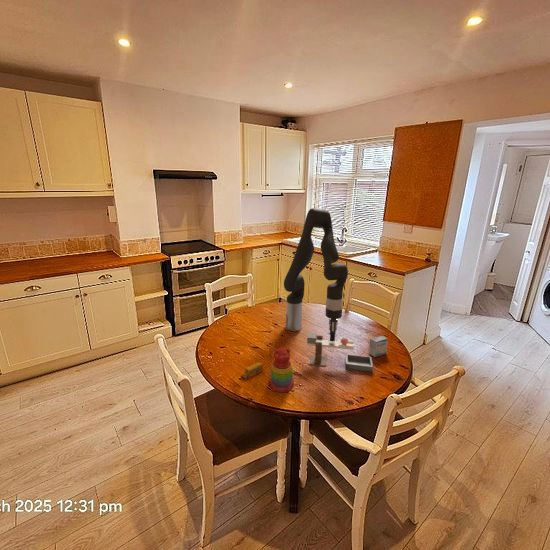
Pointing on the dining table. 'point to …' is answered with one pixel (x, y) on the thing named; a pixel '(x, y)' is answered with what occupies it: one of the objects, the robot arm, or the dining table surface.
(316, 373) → the dining table surface
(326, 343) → the tilt lever
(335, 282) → the robot arm
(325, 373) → the dining table surface
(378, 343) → the medicine box
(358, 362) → the tray
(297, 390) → the dining table surface
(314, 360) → the fulcrum
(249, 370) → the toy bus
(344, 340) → the ball
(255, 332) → the dining table surface
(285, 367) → the stacking bear
